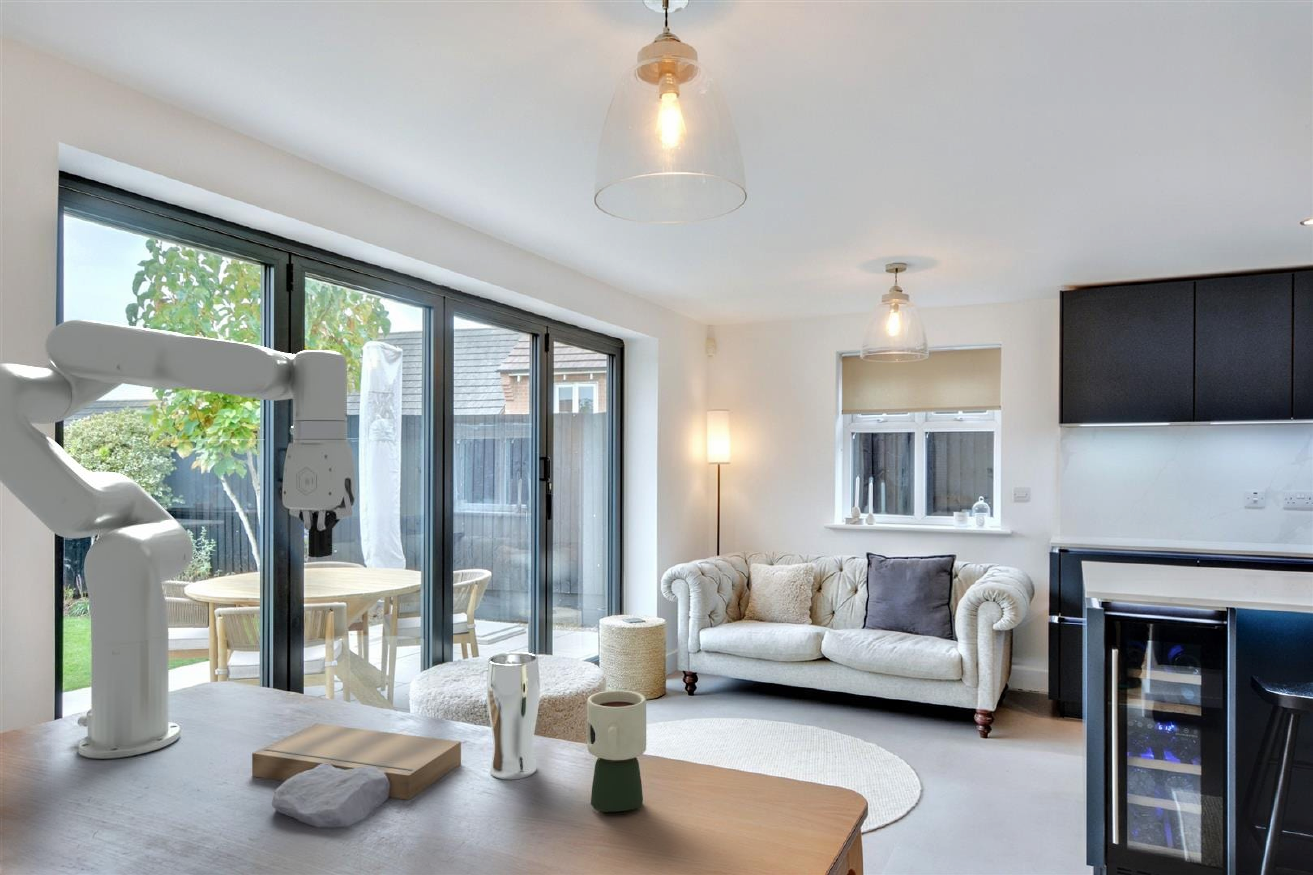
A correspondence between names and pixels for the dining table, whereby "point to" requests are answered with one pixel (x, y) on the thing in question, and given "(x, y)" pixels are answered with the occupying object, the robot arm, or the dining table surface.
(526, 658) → the beer glass
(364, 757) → the brown wooden board
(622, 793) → the character mug
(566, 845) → the dining table surface
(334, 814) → the stone block
